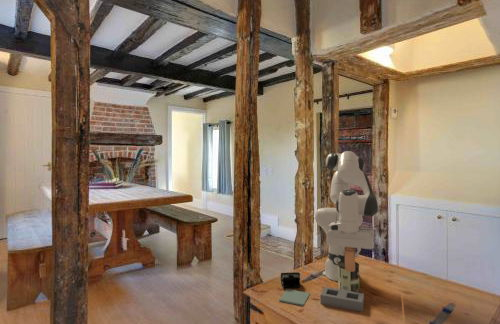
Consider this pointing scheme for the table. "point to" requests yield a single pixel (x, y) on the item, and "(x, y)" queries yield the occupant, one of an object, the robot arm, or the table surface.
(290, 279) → the end cap
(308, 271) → the table surface
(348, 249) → the plug
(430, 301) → the table surface
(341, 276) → the coffee can
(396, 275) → the table surface
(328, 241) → the robot arm
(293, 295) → the mat
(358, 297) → the grey holed block
